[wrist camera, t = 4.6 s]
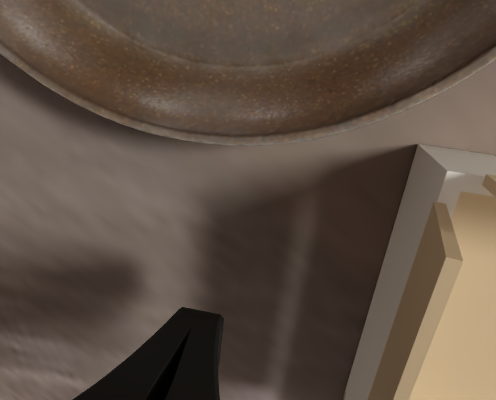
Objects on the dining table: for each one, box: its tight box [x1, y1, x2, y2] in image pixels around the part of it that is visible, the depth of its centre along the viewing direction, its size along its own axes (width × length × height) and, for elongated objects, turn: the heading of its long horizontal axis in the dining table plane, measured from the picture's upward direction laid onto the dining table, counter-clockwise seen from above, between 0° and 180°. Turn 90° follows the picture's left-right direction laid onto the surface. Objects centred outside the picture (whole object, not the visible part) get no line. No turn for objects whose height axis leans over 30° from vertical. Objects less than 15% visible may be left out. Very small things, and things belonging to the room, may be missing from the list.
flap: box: [368, 201, 463, 400], centre depth 10 cm, size 3×10×1 cm
